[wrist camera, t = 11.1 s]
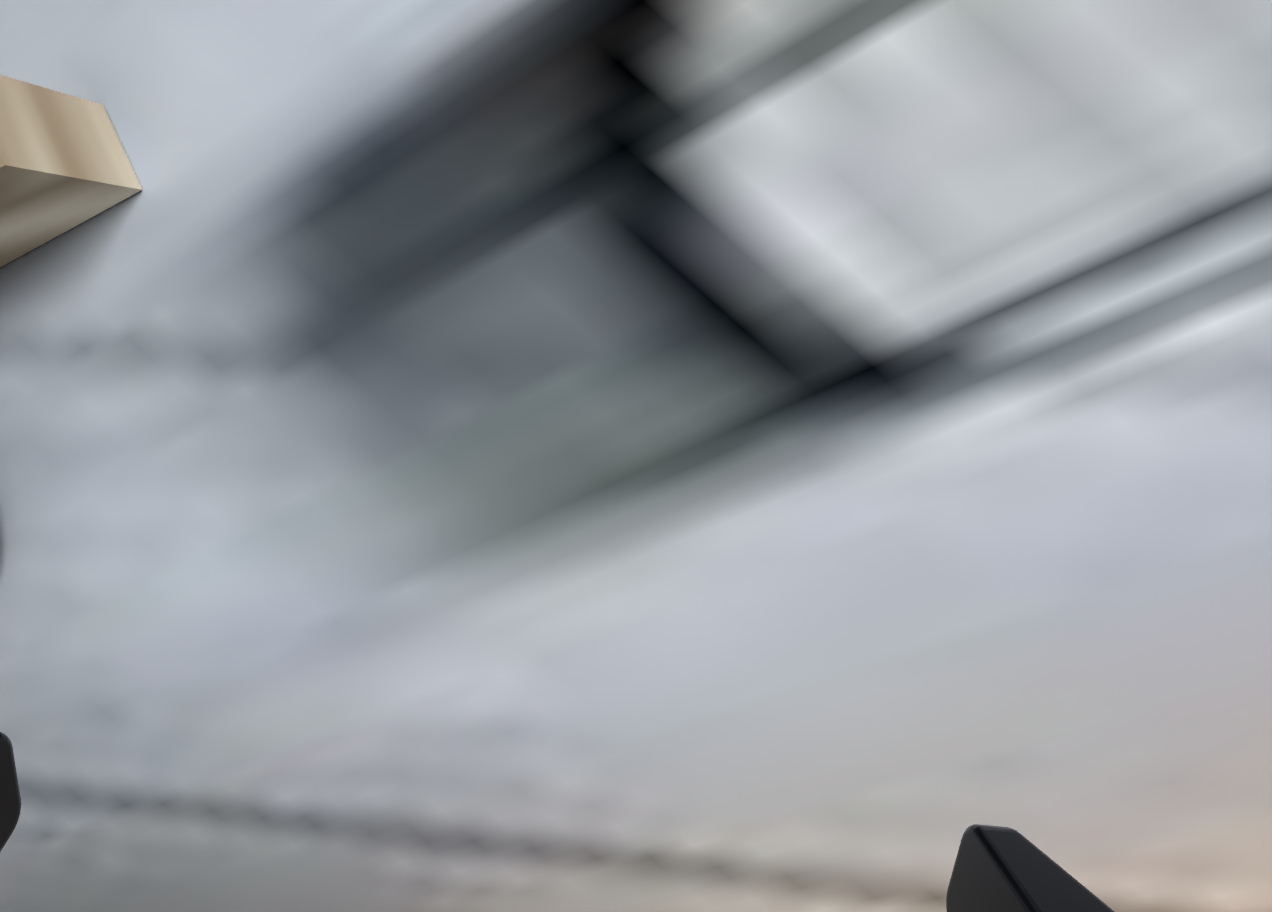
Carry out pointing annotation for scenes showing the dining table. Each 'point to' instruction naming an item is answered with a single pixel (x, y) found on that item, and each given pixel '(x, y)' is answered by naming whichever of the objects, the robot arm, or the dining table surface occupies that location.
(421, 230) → the dining table surface
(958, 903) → the robot arm
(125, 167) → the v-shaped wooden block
